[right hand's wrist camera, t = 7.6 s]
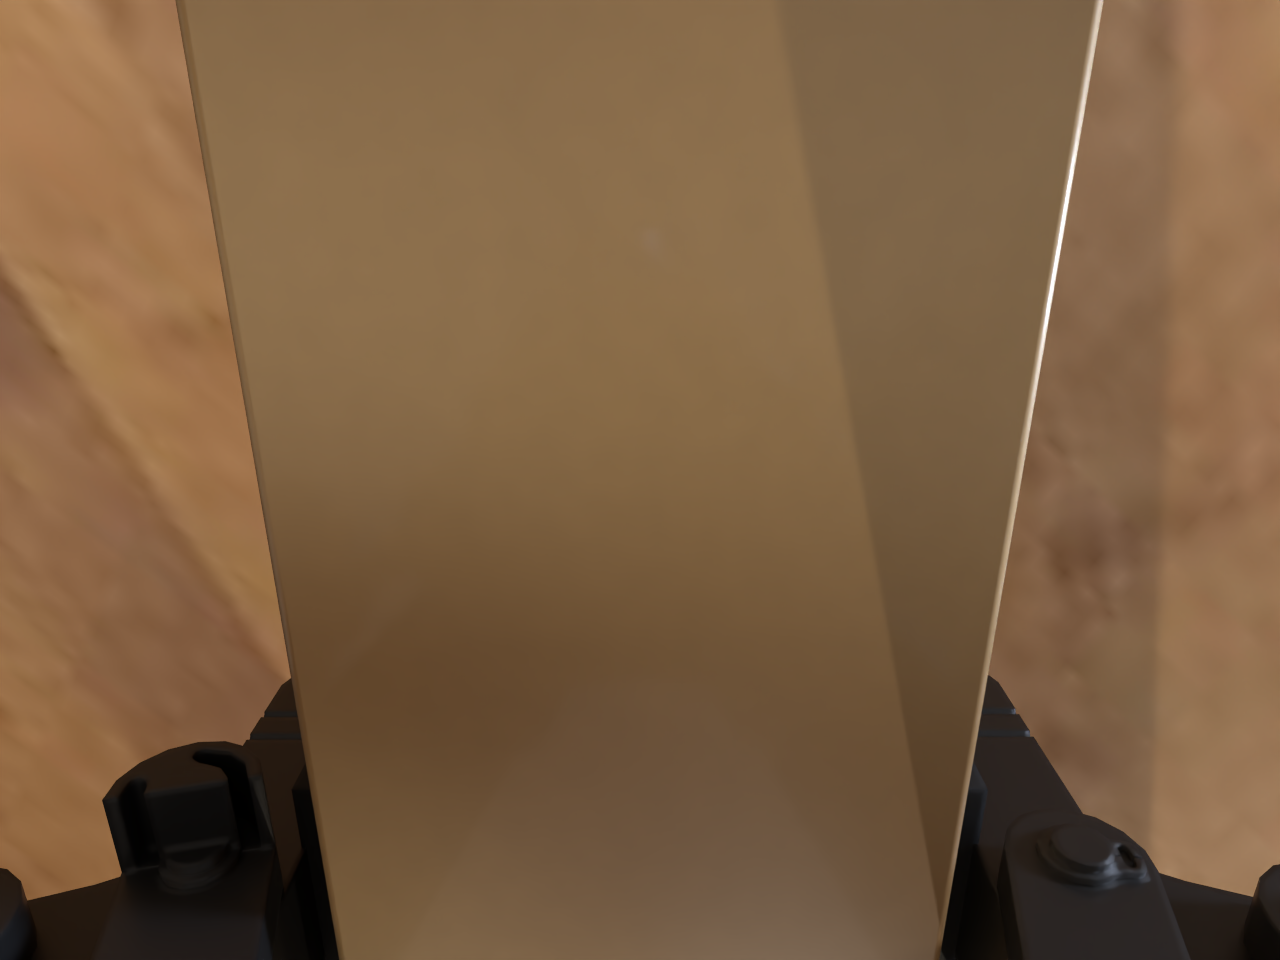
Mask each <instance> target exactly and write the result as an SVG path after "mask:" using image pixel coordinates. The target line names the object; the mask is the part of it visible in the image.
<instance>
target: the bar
mask: <svg viewBox="0 0 1280 960" xmlns="http://www.w3.org/2000/svg"><path fill="white" fill-rule="evenodd" d="M176 6H177V12H178V18H179V24H180V29H181V35H182V41H183V47H184V53H185V59H186V65H187V70H188V76H189V82H190V88H191V94H192V100H193V106H194V111H195V117H196V123H197V129H198V135H199V141H200V147H201V152H202V158H203V164H204V170H205V176H206V182H207V188H208V193H209V199H210V205H211V211H212V217H213V223H214V228H215V234H216V240H217V246H218V252H219V258H220V264H221V269H222V275H223V281H224V287H225V293H226V299H227V305H228V310H229V316H230V322H231V328H232V334H233V340H234V346H235V351H236V357H237V363H238V369H239V375H240V381H241V387H242V392H243V398H244V404H245V410H246V416H247V422H248V428H249V433H250V439H251V445H252V451H253V457H254V463H255V469H256V474H257V480H258V486H259V492H260V498H261V504H262V510H263V515H264V521H265V527H266V533H267V539H268V545H269V551H270V556H271V562H272V568H273V574H274V580H275V586H276V592H277V597H278V603H279V609H280V615H281V621H282V627H283V633H284V638H285V644H286V650H287V656H288V662H289V668H290V674H291V679H292V685H293V691H294V697H295V703H296V709H297V715H298V720H299V726H300V732H301V738H302V744H303V750H304V756H305V761H306V767H307V773H308V779H309V785H310V791H311V797H312V802H313V808H314V814H315V820H316V826H317V832H318V838H319V843H320V849H321V855H322V861H323V867H324V873H325V879H326V884H327V890H328V896H329V902H330V908H331V914H332V920H333V925H334V931H335V937H336V943H337V949H338V955H339V960H939V957H940V952H941V946H942V940H943V934H944V928H945V922H946V917H947V911H948V905H949V899H950V893H951V887H952V882H953V876H954V870H955V864H956V858H957V852H958V847H959V841H960V835H961V829H962V823H963V817H964V812H965V806H966V800H967V794H968V788H969V782H970V777H971V771H972V765H973V759H974V753H975V747H976V741H977V736H978V730H979V724H980V718H981V712H982V706H983V701H984V695H985V689H986V683H987V677H988V671H989V666H990V660H991V654H992V648H993V642H994V636H995V631H996V625H997V619H998V613H999V607H1000V601H1001V596H1002V590H1003V584H1004V578H1005V572H1006V566H1007V561H1008V555H1009V549H1010V543H1011V537H1012V531H1013V526H1014V520H1015V514H1016V508H1017V502H1018V496H1019V491H1020V485H1021V479H1022V473H1023V467H1024V461H1025V456H1026V450H1027V444H1028V438H1029V432H1030V426H1031V421H1032V415H1033V409H1034V403H1035V397H1036V391H1037V386H1038V380H1039V374H1040V368H1041V362H1042V356H1043V351H1044V345H1045V339H1046V333H1047V327H1048V321H1049V316H1050V310H1051V304H1052V298H1053V292H1054V286H1055V281H1056V275H1057V269H1058V263H1059V257H1060V251H1061V246H1062V240H1063V234H1064V228H1065V222H1066V216H1067V210H1068V205H1069V199H1070V193H1071V187H1072V181H1073V175H1074V170H1075V164H1076V158H1077V152H1078V146H1079V140H1080V135H1081V129H1082V123H1083V117H1084V111H1085V105H1086V100H1087V94H1088V88H1089V82H1090V76H1091V70H1092V65H1093V59H1094V53H1095V47H1096V41H1097V35H1098V30H1099V24H1100V18H1101V12H1102V6H1103V0H176Z"/></svg>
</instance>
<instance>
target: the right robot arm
mask: <svg viewBox="0 0 1280 960" xmlns="http://www.w3.org/2000/svg"><path fill="white" fill-rule="evenodd" d="M102 801H103V805H104V809H105V812H106V816H107V820H108V823H109V827H110V831H111V834H112V838H113V842H114V845H115V849H116V853H117V856H118V860H119V864H120V867H121V871H122V874H121V876H120V877H118V878H115V879H112V880H109V881H105V882H102V883H99V884H96V885H92V886H88V887H83V888H79V889H75V890H71V891H66V892H62V893H58V894H54V895H50V896H45V897H41V898H37V899H33V900H28V901H27V899H26V896H25V893H24V889H23V886H22V883H21V881H20V880H19V879H18V878H17V877H15V876H14V875H13V874H12V873H11V872H10V871H9V870H7V869H2V868H0V960H339V955H338V949H337V943H336V937H335V931H334V925H333V920H332V914H331V908H330V902H329V896H328V890H327V884H326V879H325V873H324V867H323V861H322V855H321V849H320V843H319V838H318V832H317V826H316V820H315V814H314V808H313V802H312V797H311V791H310V785H309V779H308V773H307V767H306V761H305V756H304V750H303V744H302V738H301V732H300V726H299V720H298V715H297V709H296V703H295V697H294V691H293V685H292V679H289V680H288V681H287V682H285V683H284V684H283V685H281V687H280V689H279V690H278V692H277V693H276V695H275V696H274V698H273V700H272V701H271V703H270V704H269V706H268V707H267V709H266V710H265V715H264V717H261V718H260V720H259V721H258V723H257V725H256V726H255V728H254V729H253V731H252V732H251V734H250V740H246V742H245V743H244V745H243V746H241V745H237V744H234V743H230V742H226V741H220V742H197V743H193V744H189V745H185V746H181V747H177V748H173V749H169V750H166V751H164V752H162V753H160V754H158V755H156V756H153V757H151V758H149V759H147V760H145V761H143V762H141V763H139V764H138V765H136V766H135V767H134V768H132V769H131V770H130V771H128V772H127V773H126V774H124V775H123V776H122V777H120V778H119V779H118V780H116V782H115V783H114V785H113V786H112V787H111V789H110V790H109V791H108V793H107V794H106V796H105V797H104V798H103V800H102ZM939 960H1280V864H1279V865H1273V866H1272V867H1271V868H1270V869H1269V870H1268V871H1266V872H1265V873H1264V874H1263V875H1262V876H1261V877H1260V878H1259V881H1258V884H1257V887H1256V890H1255V893H1254V896H1253V897H1250V896H1246V895H1242V894H1238V893H1233V892H1229V891H1225V890H1221V889H1216V888H1212V887H1208V886H1204V885H1199V884H1195V883H1191V882H1187V881H1183V880H1180V879H1177V878H1174V877H1170V876H1167V875H1164V874H1161V873H1159V872H1158V870H1157V869H1156V867H1155V866H1154V864H1153V862H1152V861H1151V859H1150V858H1149V856H1148V854H1147V853H1146V851H1145V850H1144V849H1143V848H1142V847H1140V846H1139V845H1138V844H1137V843H1136V842H1134V841H1133V840H1132V839H1131V838H1130V837H1129V836H1127V835H1126V834H1125V833H1124V832H1123V831H1121V830H1119V829H1117V828H1115V827H1113V826H1111V825H1109V824H1107V823H1105V822H1103V821H1101V820H1099V819H1098V818H1096V817H1092V816H1088V815H1085V814H1083V813H1082V812H1081V810H1080V808H1079V807H1078V805H1077V804H1076V802H1075V801H1074V799H1073V798H1072V796H1071V795H1070V793H1069V791H1068V790H1067V788H1066V787H1065V785H1064V784H1063V782H1062V781H1061V779H1060V777H1059V776H1058V774H1057V773H1056V771H1055V770H1054V768H1053V767H1052V765H1051V763H1050V762H1049V760H1048V759H1047V757H1046V756H1045V754H1044V753H1043V751H1042V749H1041V748H1040V746H1039V745H1038V743H1037V742H1036V740H1035V739H1034V737H1030V731H1029V729H1028V728H1027V726H1026V725H1025V723H1024V721H1023V720H1022V718H1021V717H1020V715H1019V714H1016V712H1015V707H1014V706H1013V704H1012V703H1011V701H1010V700H1009V698H1008V697H1007V695H1006V694H1005V692H1004V690H1003V689H1002V687H1001V686H1000V684H999V683H998V682H997V681H996V680H994V679H993V678H992V677H990V676H989V675H988V677H987V683H986V689H985V695H984V701H983V706H982V712H981V718H980V724H979V730H978V736H977V741H976V747H975V753H974V759H973V765H972V771H971V777H970V782H969V788H968V794H967V800H966V806H965V812H964V817H963V823H962V829H961V835H960V841H959V847H958V852H957V858H956V864H955V870H954V876H953V882H952V887H951V893H950V899H949V905H948V911H947V917H946V922H945V928H944V934H943V940H942V946H941V952H940V957H939Z"/></svg>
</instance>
